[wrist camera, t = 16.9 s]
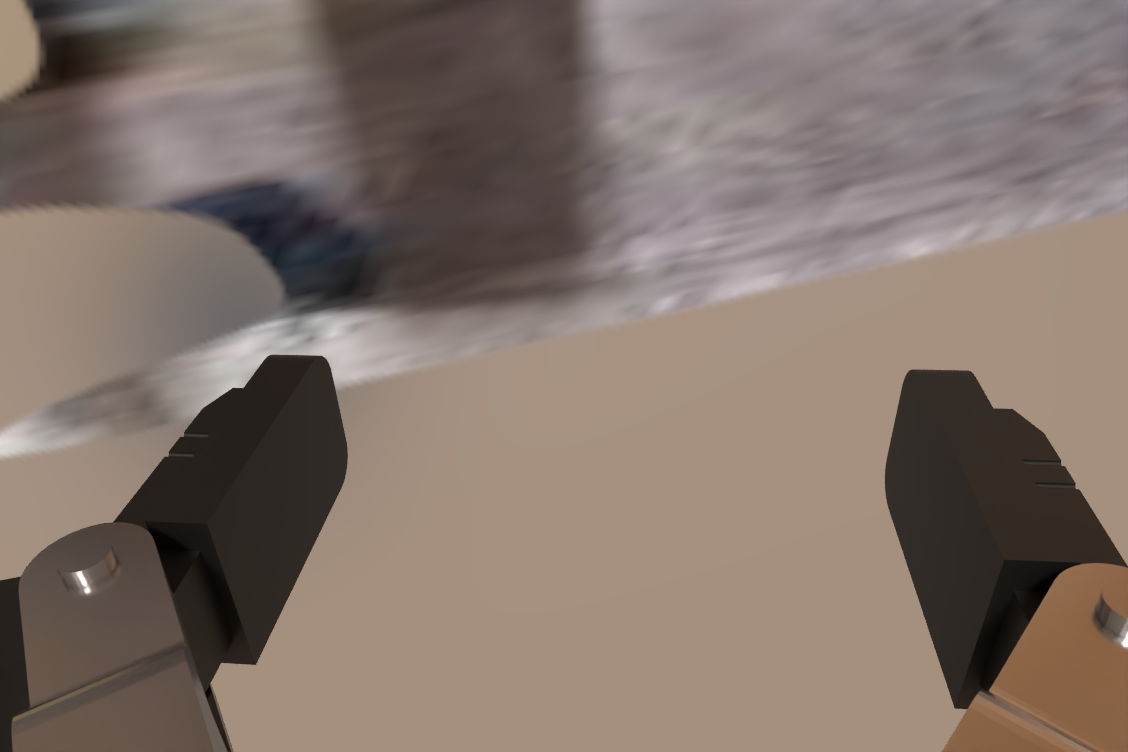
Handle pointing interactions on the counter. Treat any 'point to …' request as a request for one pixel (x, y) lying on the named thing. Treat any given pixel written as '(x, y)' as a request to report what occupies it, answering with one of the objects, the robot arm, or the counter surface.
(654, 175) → the counter surface
